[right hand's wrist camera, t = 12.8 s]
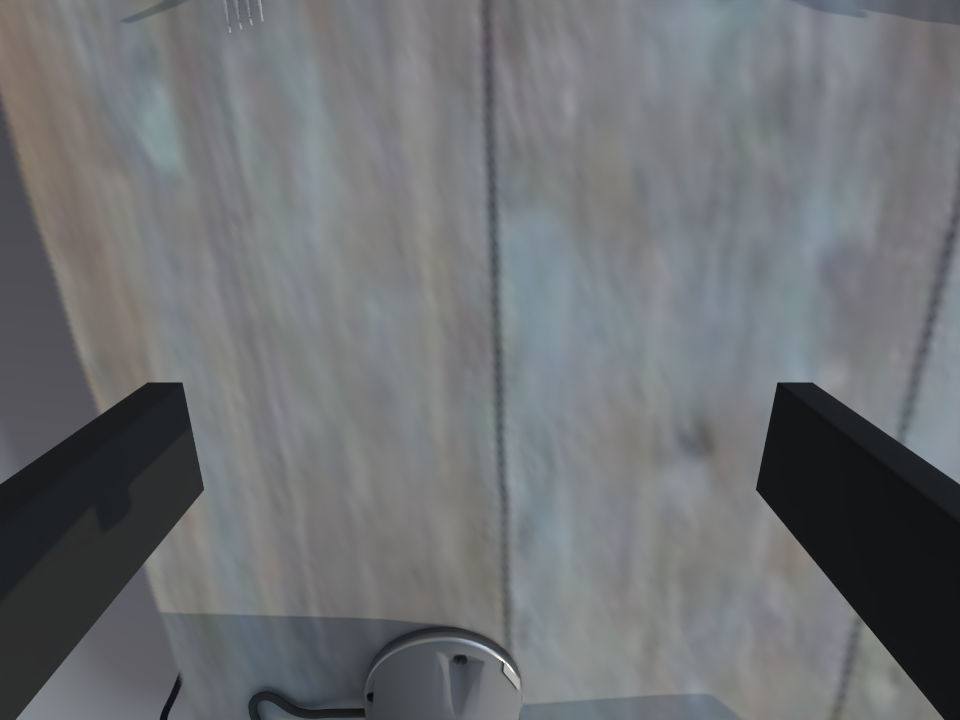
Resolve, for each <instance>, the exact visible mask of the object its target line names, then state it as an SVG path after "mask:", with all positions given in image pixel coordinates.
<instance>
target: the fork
mask: <svg viewBox="0 0 960 720" xmlns="http://www.w3.org/2000/svg"><path fill="white" fill-rule="evenodd" d="M221 1H222V5H223V9H224V13H225V17H226V21H227V25H228V31H229V33H231V27H230V18H229V9H228V3H227V0H221ZM256 1H257V5H258V9H259V13H260V17H261V21H262V22H263V15H262V7H261V0H256ZM233 3H234V6H235V10H236V14H237V18H238V22H239V27H240V29H242V27H241V17H240V9H239V2H238V0H233ZM245 4H246V8H247V12H248V16H249V20H250V24H251V25H252V16H251V8H250V0H245Z"/></svg>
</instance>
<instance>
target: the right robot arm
mask: <svg viewBox="0 0 960 720" xmlns="http://www.w3.org/2000/svg"><path fill="white" fill-rule="evenodd" d="M203 490H204V487H203V482H202V477H201V472H200V467H199V462H198V457H197V452H196V447H195V442H194V437H193V432H192V427H191V422H190V418H189V413H188V408H187V403H186V398H185V393H184V388H183V383H146V384H145V385H143V386H142V387H141V388H139V389H138V390H136V391H135V392H133V393H132V394H130V395H129V396H128V397H126V398H125V399H123V400H122V401H120V402H119V403H117V404H116V405H114V406H113V407H112V408H110V409H109V410H107V411H106V412H104V413H103V414H101V415H100V416H99V417H97V418H96V419H94V420H93V421H91V422H90V423H89V424H87V425H86V426H84V427H83V428H81V429H80V430H78V431H77V432H75V433H74V434H73V435H71V436H70V437H68V438H67V439H65V440H64V441H62V442H61V443H60V444H58V445H57V446H55V447H54V448H52V449H51V450H49V451H48V452H47V453H45V454H44V455H42V456H41V457H39V458H38V459H36V460H35V461H34V462H32V463H31V464H29V465H28V466H26V467H25V468H23V469H22V470H20V471H19V472H18V473H16V474H15V475H13V476H12V477H10V478H9V479H7V480H6V481H5V482H3V483H2V484H0V720H16V718H17V717H18V716H19V715H20V714H21V712H22V711H23V710H24V709H25V708H26V706H27V705H28V704H29V703H30V701H31V700H32V699H33V698H34V696H35V695H36V694H37V693H38V692H39V690H40V689H41V688H42V687H43V686H44V684H45V683H46V682H47V681H48V679H49V678H50V677H51V676H52V674H53V673H54V672H55V671H56V670H57V668H58V667H59V666H60V665H61V664H62V662H63V661H64V660H65V659H66V657H67V656H68V655H69V654H70V653H71V651H72V650H73V649H74V648H75V646H76V645H77V644H78V643H79V642H80V640H81V639H82V638H83V637H84V635H85V634H86V633H87V632H88V631H89V629H90V628H91V627H92V626H93V625H94V623H95V622H96V621H97V620H98V618H99V617H100V616H101V615H102V614H103V612H104V611H105V610H106V609H107V607H108V606H109V605H110V604H111V603H112V601H113V600H114V599H115V598H116V596H117V595H118V594H119V593H120V592H121V590H122V589H123V588H124V587H125V585H126V584H127V583H128V582H129V580H130V579H131V578H132V577H133V576H134V574H135V573H136V572H137V571H138V570H139V568H140V567H141V566H142V565H143V563H144V562H145V561H146V560H147V559H148V557H149V556H150V555H151V554H152V552H153V551H154V550H155V549H156V548H157V546H158V545H159V544H160V543H161V542H162V540H163V539H164V538H165V537H166V535H167V534H168V533H169V532H170V531H171V529H172V528H173V527H174V526H175V524H176V523H177V522H178V521H179V520H180V518H181V517H182V516H183V515H184V513H185V512H186V511H187V510H188V509H189V507H190V506H191V505H192V504H193V502H194V501H195V500H196V499H197V498H198V496H199V495H200V494H201V493H202V491H203ZM756 490H757V491H758V493H759V494H760V495H761V496H762V498H763V499H764V500H765V501H766V502H767V504H768V505H769V506H770V507H771V509H772V510H773V511H774V512H775V513H776V515H777V516H778V517H779V518H780V520H781V521H782V522H783V523H784V524H785V526H786V527H787V528H788V529H789V531H790V532H791V533H792V534H793V535H794V537H795V538H796V539H797V540H798V542H799V543H800V544H801V545H802V546H803V548H804V549H805V550H806V551H807V552H808V554H809V555H810V556H811V557H812V559H813V560H814V561H815V562H816V563H817V565H818V566H819V567H820V568H821V570H822V571H823V572H824V573H825V574H826V576H827V577H828V578H829V579H830V581H831V582H832V583H833V584H834V585H835V587H836V588H837V589H838V590H839V592H840V593H841V594H842V595H843V596H844V598H845V599H846V600H847V601H848V603H849V604H850V605H851V606H852V607H853V609H854V610H855V611H856V612H857V614H858V615H859V616H860V617H861V618H862V620H863V621H864V622H865V623H866V625H867V626H868V627H869V628H870V629H871V631H872V632H873V633H874V634H875V635H876V637H877V638H878V639H879V640H880V642H881V643H882V644H883V645H884V646H885V648H886V649H887V650H888V651H889V653H890V654H891V655H892V656H893V657H894V659H895V660H896V661H897V662H898V664H899V665H900V666H901V667H902V668H903V670H904V671H905V672H906V673H907V675H908V676H909V677H910V678H911V679H912V681H913V682H914V683H915V684H916V686H917V687H918V688H919V689H920V690H921V692H922V693H923V694H924V695H925V697H926V698H927V699H928V700H929V701H930V703H931V704H932V705H933V706H934V708H935V709H936V710H937V711H938V712H939V714H940V715H941V716H942V717H943V718H944V720H960V484H958V483H957V482H955V481H954V480H953V479H951V478H950V477H948V476H947V475H945V474H944V473H942V472H941V471H940V470H938V469H937V468H935V467H934V466H932V465H931V464H929V463H928V462H926V461H925V460H924V459H922V458H921V457H919V456H918V455H916V454H915V453H913V452H912V451H911V450H909V449H908V448H906V447H905V446H903V445H902V444H900V443H899V442H898V441H896V440H895V439H893V438H892V437H890V436H889V435H887V434H886V433H885V432H883V431H882V430H880V429H879V428H877V427H876V426H874V425H873V424H872V423H870V422H869V421H867V420H866V419H864V418H863V417H861V416H860V415H859V414H857V413H856V412H854V411H853V410H851V409H850V408H848V407H847V406H846V405H844V404H843V403H841V402H840V401H838V400H837V399H835V398H834V397H832V396H831V395H830V394H828V393H827V392H825V391H824V390H822V389H821V388H819V387H818V386H817V385H815V384H814V383H777V388H776V393H775V398H774V403H773V408H772V413H771V418H770V422H769V427H768V432H767V437H766V442H765V447H764V452H763V457H762V462H761V467H760V472H759V477H758V482H757V487H756ZM182 683H183V681H182V678H181V674H180V672H179V674H178V676H177V679H176V681H175V684H174V686H173V689H172V691H171V693H170V696H169V698H168V700H167V702H166V704H165V706H164V708H163V710H162V712H161V715H160V720H167V719H168V715H169V712H170V710H171V708H172V706H173V704H174V702H175V699H176V697H177V695H178V693H179V690H180V688H181V685H182ZM262 700H268V701H271V702H273V703H275V704H276V705H278V706H279V707H281V708H282V709H283V710H285V711H286V712H288V713H290V714H292V715H294V716H297V717H301V718H310V719H317V718H353V717H366V720H519V719H520V715H521V708H522V686H521V677H520V673H519V670H518V668H517V666H516V664H515V662H514V661H513V659H512V658H511V657H510V655H509V654H508V653H507V652H506V651H505V650H504V649H503V648H502V647H500V646H499V645H498V644H496V643H495V642H493V641H492V640H490V639H488V638H486V637H484V636H481V635H479V634H476V633H473V632H470V631H466V630H461V629H454V628H431V629H424V630H419V631H415V632H412V633H409V634H407V635H404V636H402V637H400V638H398V639H396V640H394V641H393V642H391V643H390V644H388V645H387V646H386V647H385V648H384V649H383V650H381V651H380V653H379V654H378V655H377V656H376V658H375V659H374V661H373V662H372V664H371V666H370V669H369V672H368V677H367V681H366V686H365V691H364V708H360V709H322V710H309V709H303V708H299V707H296V706H294V705H292V704H291V703H289V702H288V701H286V700H285V699H284V698H282V697H281V696H279V695H277V694H276V693H273V692H269V691H265V692H260V693H258V694H256V695H254V696H253V697H252V699H251V700H250V702H249V706H248V708H249V714H250V717H251V720H261V719H260V717H259V714H258V711H257V707H256V706H257V703H258V702H260V701H262Z"/></svg>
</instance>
